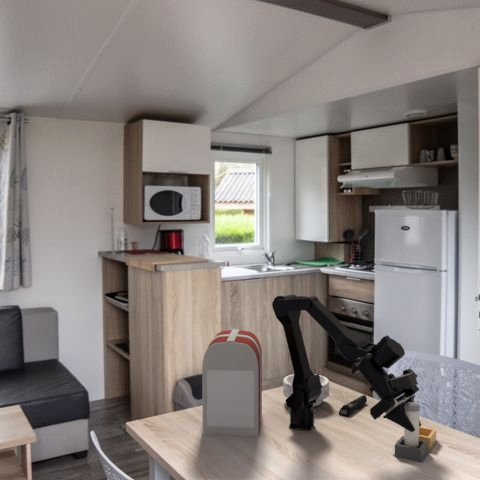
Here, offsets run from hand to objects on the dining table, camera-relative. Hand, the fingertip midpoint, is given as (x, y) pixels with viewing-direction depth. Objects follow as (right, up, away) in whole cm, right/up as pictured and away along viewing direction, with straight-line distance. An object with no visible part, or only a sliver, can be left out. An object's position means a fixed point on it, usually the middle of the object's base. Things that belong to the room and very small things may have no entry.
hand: (416, 428), depth 143 cm
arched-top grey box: (-47, -7, +25) cm, 54 cm away
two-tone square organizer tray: (+1, -8, +5) cm, 9 cm away
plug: (-1, -7, +1) cm, 7 cm away
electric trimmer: (-9, -7, +37) cm, 39 cm away
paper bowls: (-23, -6, +43) cm, 49 cm away
